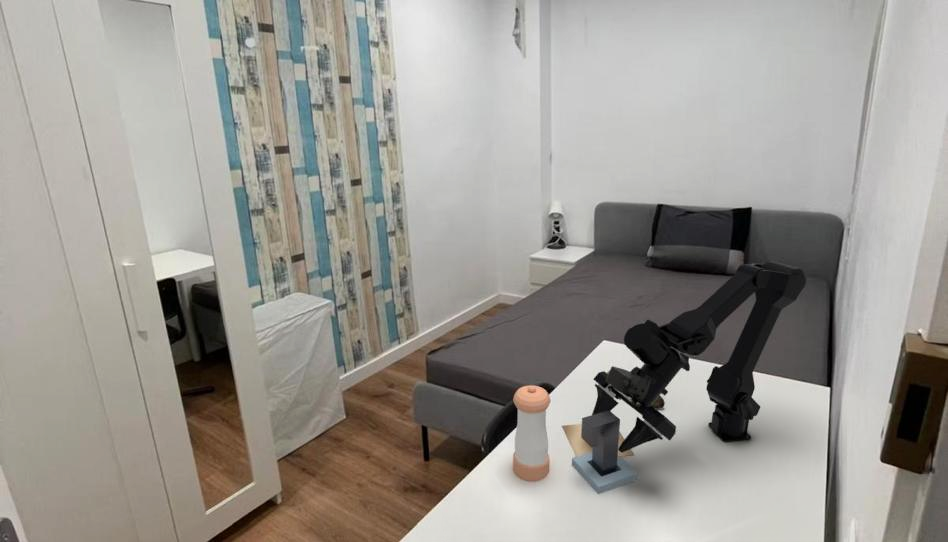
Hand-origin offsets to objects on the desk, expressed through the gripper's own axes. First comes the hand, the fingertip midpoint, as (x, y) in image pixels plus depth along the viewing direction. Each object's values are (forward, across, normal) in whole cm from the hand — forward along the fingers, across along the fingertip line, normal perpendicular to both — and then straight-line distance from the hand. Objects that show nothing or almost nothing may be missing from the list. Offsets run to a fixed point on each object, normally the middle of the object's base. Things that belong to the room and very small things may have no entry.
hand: (604, 437), depth 98 cm
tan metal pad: (+2, -9, +10) cm, 13 cm away
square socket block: (+6, 0, +6) cm, 9 cm away
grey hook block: (+7, 0, +5) cm, 8 cm away
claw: (-12, -23, +24) cm, 35 cm away
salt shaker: (+15, -7, -2) cm, 17 cm away
